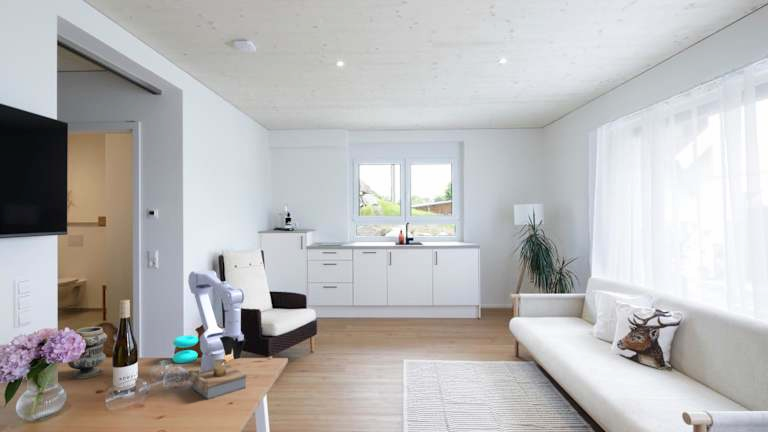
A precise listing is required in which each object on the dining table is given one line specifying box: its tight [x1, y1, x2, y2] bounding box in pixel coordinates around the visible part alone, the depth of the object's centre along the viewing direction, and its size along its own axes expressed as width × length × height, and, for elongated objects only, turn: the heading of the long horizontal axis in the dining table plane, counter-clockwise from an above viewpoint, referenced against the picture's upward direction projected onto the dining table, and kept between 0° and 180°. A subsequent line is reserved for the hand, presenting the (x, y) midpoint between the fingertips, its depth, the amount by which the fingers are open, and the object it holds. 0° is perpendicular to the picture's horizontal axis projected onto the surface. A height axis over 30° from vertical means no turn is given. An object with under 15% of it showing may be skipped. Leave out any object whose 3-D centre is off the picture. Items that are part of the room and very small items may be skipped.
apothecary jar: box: [67, 326, 108, 380], centre depth 152 cm, size 12×12×18 cm
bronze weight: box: [213, 359, 227, 377], centre depth 143 cm, size 4×4×5 cm
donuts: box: [172, 334, 199, 364], centre depth 171 cm, size 10×10×10 cm
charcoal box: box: [191, 377, 247, 400], centre depth 143 cm, size 14×14×4 cm
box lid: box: [187, 364, 247, 392], centre depth 142 cm, size 14×16×3 cm
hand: (232, 356), depth 147 cm, fingers open, 7 cm apart
